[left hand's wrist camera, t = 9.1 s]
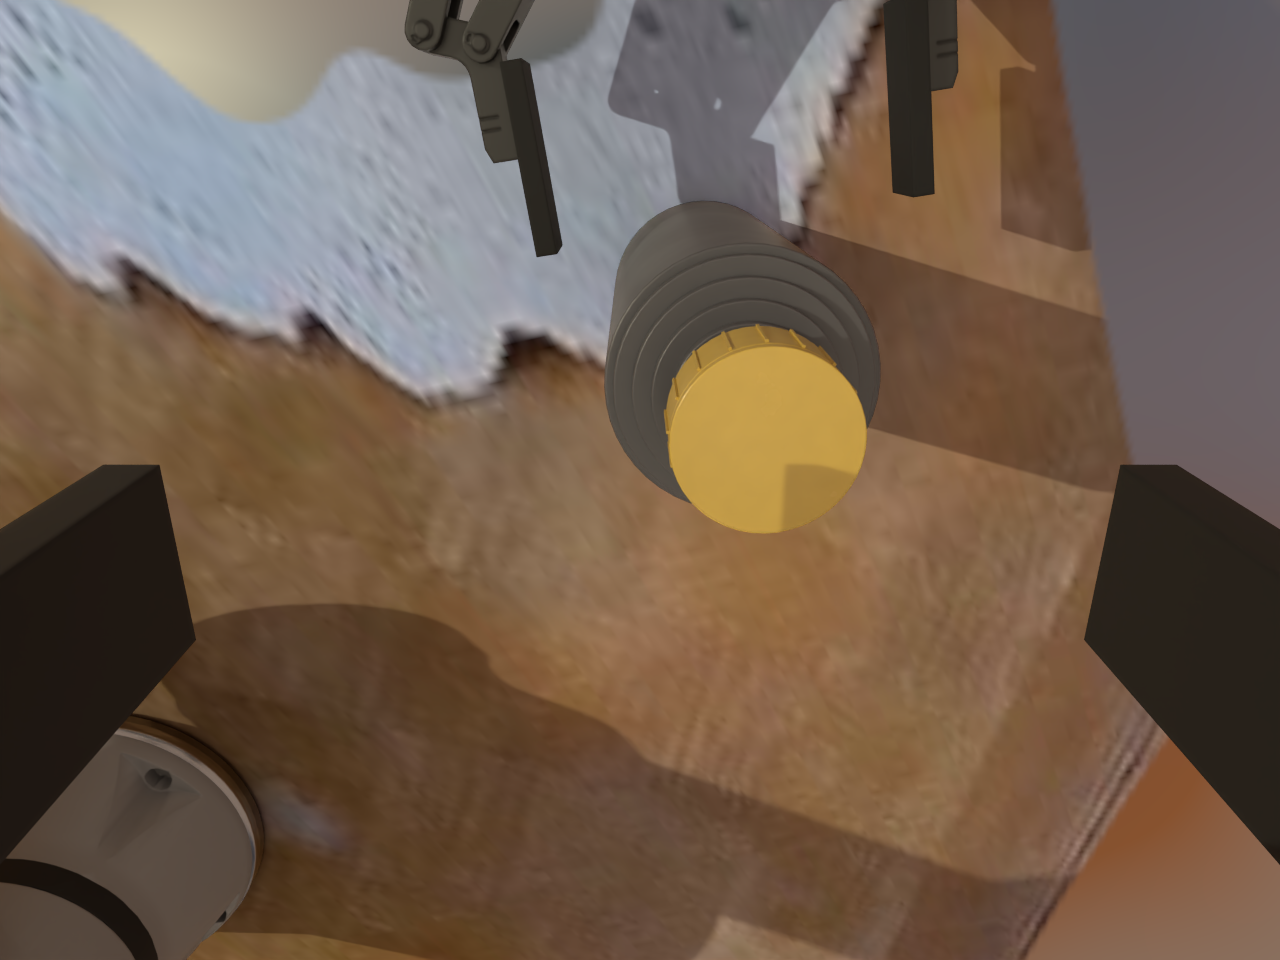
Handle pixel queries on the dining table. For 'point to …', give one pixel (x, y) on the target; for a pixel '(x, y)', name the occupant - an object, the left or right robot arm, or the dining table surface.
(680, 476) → the cap
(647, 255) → the bottle
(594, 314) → the dining table surface
